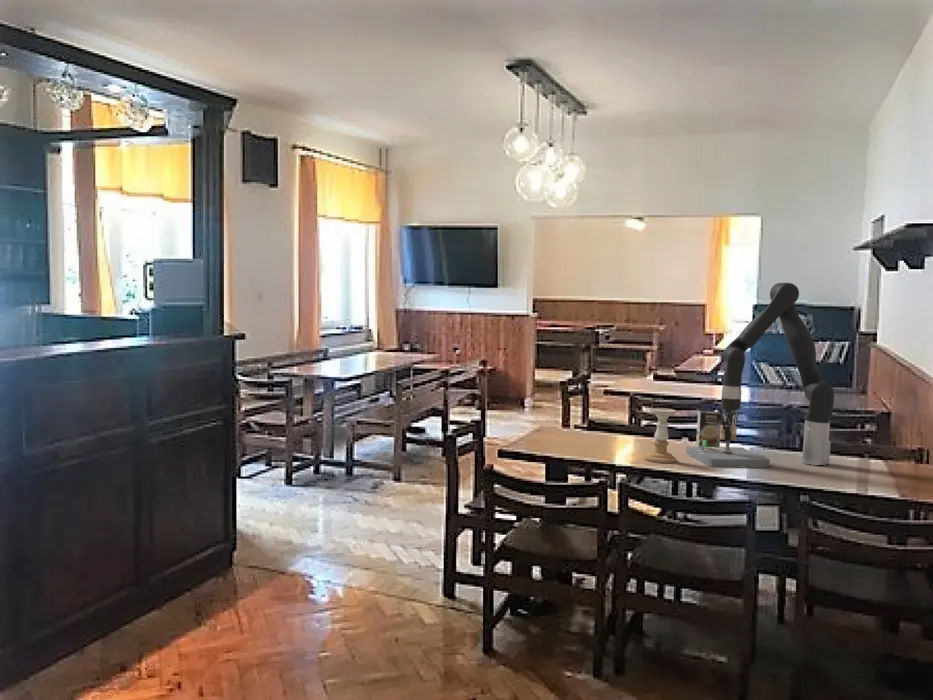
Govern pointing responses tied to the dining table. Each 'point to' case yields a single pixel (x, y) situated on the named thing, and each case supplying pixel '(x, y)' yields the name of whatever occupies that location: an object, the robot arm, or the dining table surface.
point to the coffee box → (708, 428)
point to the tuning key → (722, 437)
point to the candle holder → (661, 437)
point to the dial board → (727, 457)
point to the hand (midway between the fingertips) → (729, 439)
